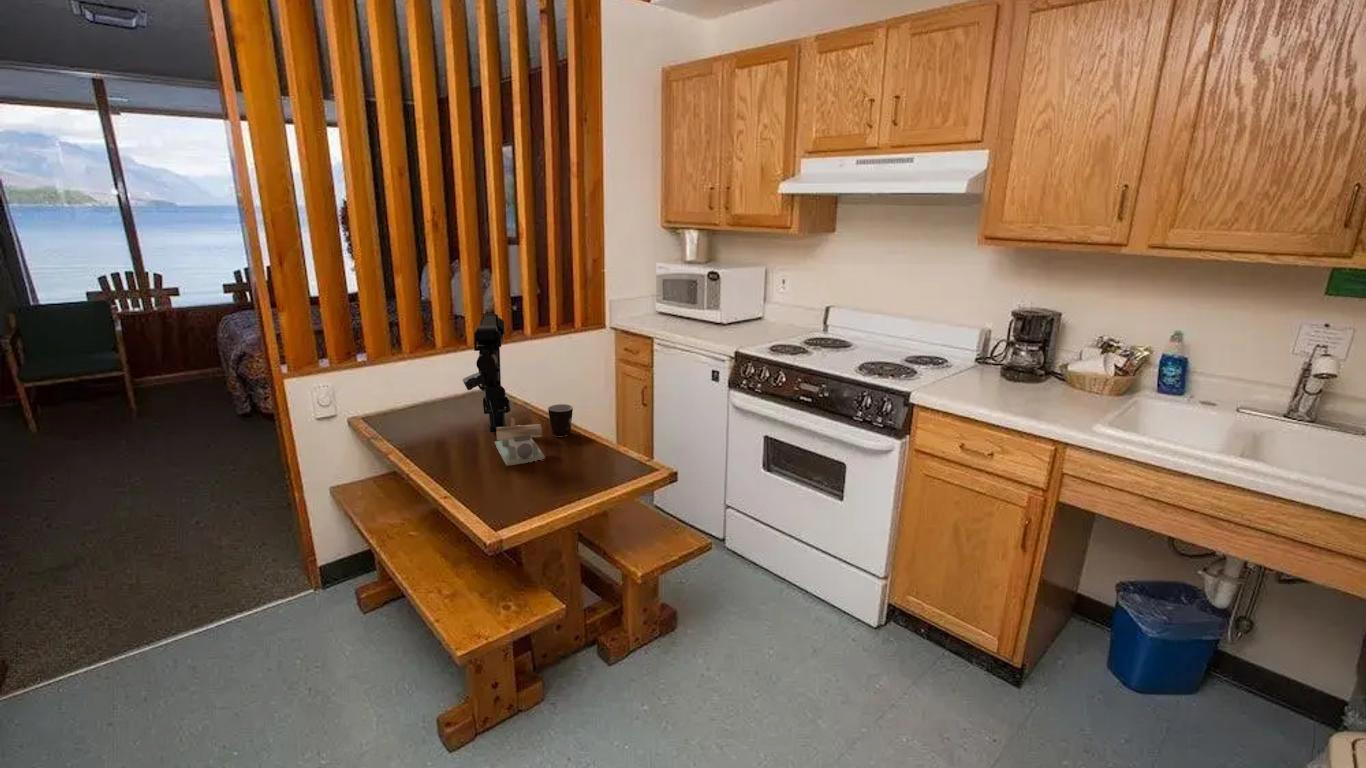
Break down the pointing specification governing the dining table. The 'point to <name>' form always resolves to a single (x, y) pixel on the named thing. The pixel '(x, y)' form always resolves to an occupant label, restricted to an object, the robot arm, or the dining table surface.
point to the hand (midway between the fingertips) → (492, 410)
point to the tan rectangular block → (518, 431)
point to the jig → (519, 449)
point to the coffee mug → (560, 419)
